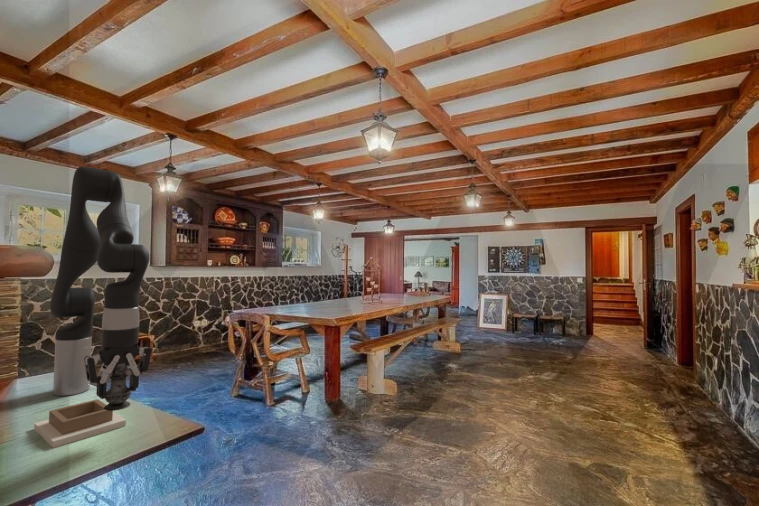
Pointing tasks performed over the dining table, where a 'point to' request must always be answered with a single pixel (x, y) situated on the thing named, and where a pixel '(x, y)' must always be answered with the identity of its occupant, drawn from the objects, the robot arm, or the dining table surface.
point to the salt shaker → (118, 390)
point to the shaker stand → (77, 423)
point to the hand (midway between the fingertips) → (117, 393)
